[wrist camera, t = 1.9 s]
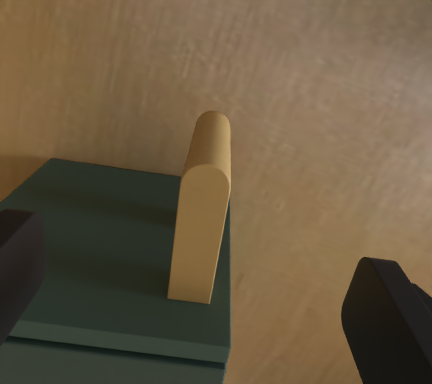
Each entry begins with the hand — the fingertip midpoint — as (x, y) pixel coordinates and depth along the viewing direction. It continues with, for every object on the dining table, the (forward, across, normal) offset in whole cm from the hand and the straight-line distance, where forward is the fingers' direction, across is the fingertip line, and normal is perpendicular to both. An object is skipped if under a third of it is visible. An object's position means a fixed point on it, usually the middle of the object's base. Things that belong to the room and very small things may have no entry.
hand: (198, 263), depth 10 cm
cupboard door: (+19, +5, +3) cm, 20 cm away
